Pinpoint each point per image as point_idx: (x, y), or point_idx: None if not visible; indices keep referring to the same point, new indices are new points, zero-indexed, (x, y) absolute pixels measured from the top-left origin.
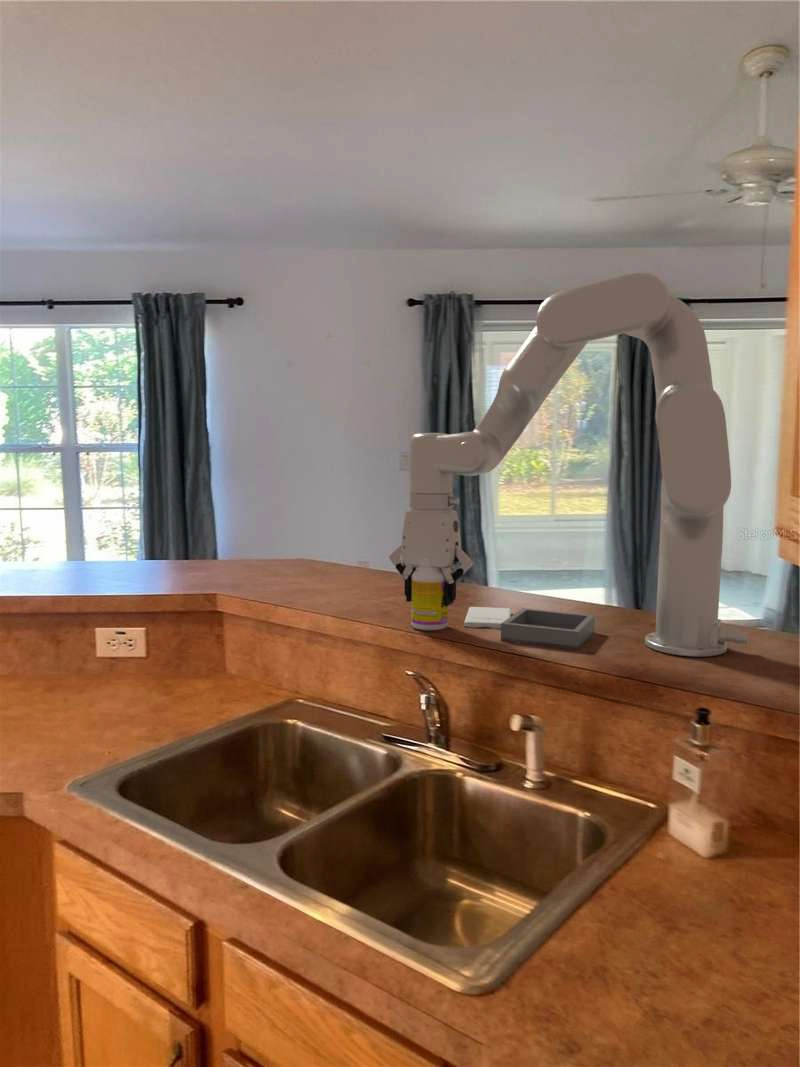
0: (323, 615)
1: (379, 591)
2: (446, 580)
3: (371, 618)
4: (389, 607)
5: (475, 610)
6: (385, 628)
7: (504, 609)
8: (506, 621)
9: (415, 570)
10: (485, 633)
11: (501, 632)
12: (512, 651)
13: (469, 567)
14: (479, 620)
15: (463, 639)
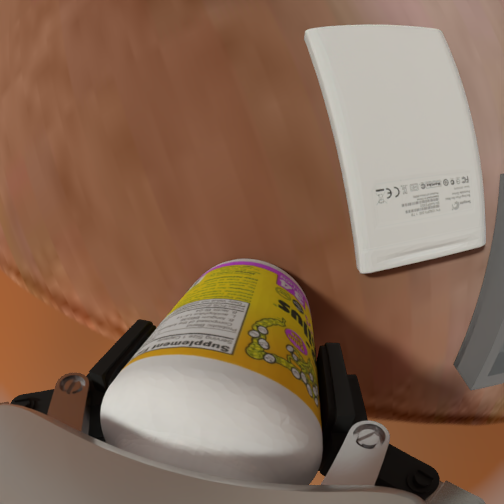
0: (6, 272)
1: (24, 11)
2: (320, 469)
3: (68, 264)
4: (54, 118)
5: (352, 78)
6: None
7: (435, 47)
8: (486, 368)
9: (88, 418)
10: (425, 318)
11: (462, 375)
12: (459, 409)
13: (458, 496)
14: (408, 234)
15: (373, 388)
